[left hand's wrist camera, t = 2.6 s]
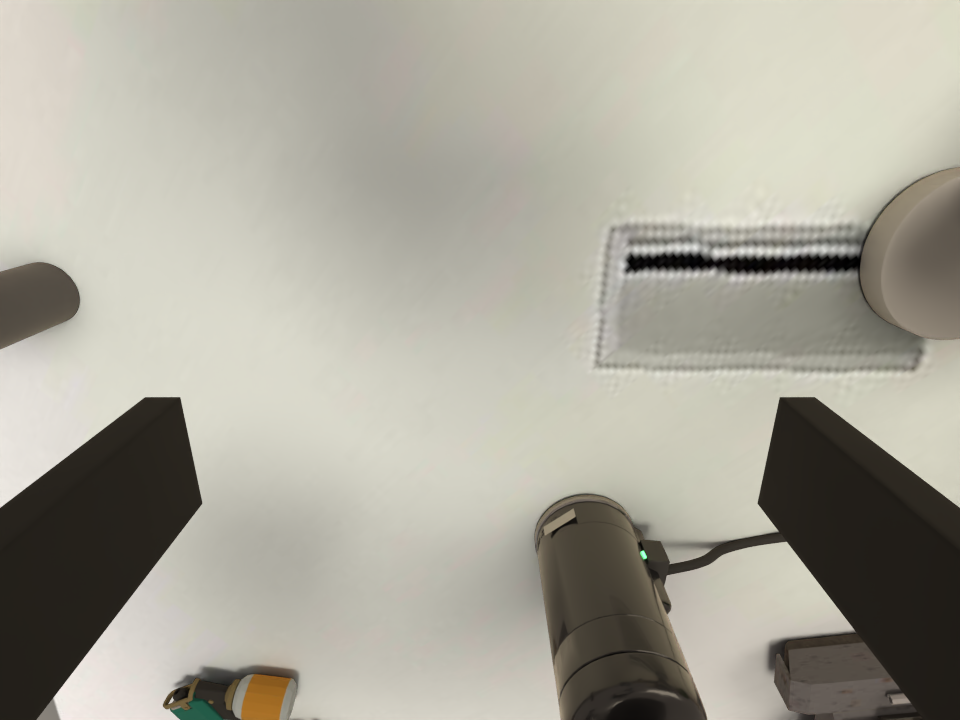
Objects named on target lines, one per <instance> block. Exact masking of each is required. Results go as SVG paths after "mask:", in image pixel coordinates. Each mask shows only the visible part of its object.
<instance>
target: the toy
mask: <svg viewBox="0 0 960 720" xmlns="http://www.w3.org/2000/svg"><path fill="white" fill-rule="evenodd" d="M774 683H775V685H776V687H777V689H778V691H779V693H780V694H781V696H782V698H783V700H784V702H785V704H786V706H787V708H788V710H790V711H795V712H799V713H803V714H808V715H811V714H815V720H924V719H923V718H922V717H921V716H920V714H919V713H918V712H917V710H916V709H915V708H914V706H913V705H912V704H911V703H910V701H909V700H908V699H907V697H906V696H905V695H904V693H903V692H902V691H901V690H900V688H899V687H898V686H897V684H896V683H895V682H894V680H893V679H892V678H891V676H890V675H889V674H888V673H887V671H886V670H885V669H884V667H883V666H882V665H881V663H880V662H879V661H878V660H877V658H876V657H875V656H874V654H873V653H872V652H871V650H870V649H869V648H868V647H867V645H866V644H865V643H864V641H863V640H862V639H861V637H860V636H859V635H858V634H849V635H839V636H830V637H820V638H811V639H802V640H792V641H788V642H787V643H786V645H785V653H784V661H783V659H782V657H781V656H780V654H776V662H775V677H774Z"/></svg>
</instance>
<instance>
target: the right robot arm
mask: <svg viewBox="0 0 960 720" xmlns="http://www.w3.org/2000/svg"><path fill="white" fill-rule="evenodd" d="M779 542H787V541H786V540H785V538H784V537H783V536H782V535H781V533H777V534H769V535H762V536H756V537H750V538H745V539H741V540H736V541H732V542H729V543H725V544H722V545H719V546H717V547H715V548H714V549H712V550H711V551H710V552H708V553H707V554H705V555H704V556H702V557H699V558H696V559H693V560H689V561H685V562H680V563H675V564H670V561H669V559H668V557H667V555H666V552H665V550H664V548H663V546H662V544H661V541H651V540H644V537H643V535H642V532H641V531H640V530H639V529H637V528H635V527H634V526H633V524H632V521H631V519H630V517H629V515H628V514H627V512H626V511H625V510H624V509H623V508H622V507H621V506H620V505H619V504H617V503H616V502H614V501H612V500H610V499H608V498H605V497H601V496H596V495H579V496H573V497H570V498H567V499H564V500H562V501H560V502H558V503H556V504H555V505H553V506H552V507H551V508H549V509H548V510H547V511H546V512H545V513H544V515H543V516H542V517H541V519H540V520H539V522H538V524H537V527H536V531H535V546H536V552H537V555H538V561H539V568H540V576H541V583H542V590H543V597H544V604H545V611H546V618H547V625H548V632H549V639H550V646H551V653H552V660H553V667H554V674H555V681H556V688H557V695H558V702H559V711H560V719H561V720H707V716H706V712H705V709H704V706H703V703H702V701H701V698H700V696H699V693H698V690H697V688H696V685H695V683H694V681H693V678H692V676H691V673H690V671H689V668H688V666H687V663H686V661H685V658H684V656H683V653H682V650H681V648H680V645H679V643H678V641H677V638H676V636H675V633H674V631H673V628H672V626H671V623H670V621H669V618H668V616H667V614H668V613H669V612H670V610H671V603H670V600H669V598H668V595H667V593H666V590H665V588H664V584H665V580H666V576H667V575H670V574H675V573H680V572H685V571H690V570H694V569H698V568H701V567H704V566H706V565H709V564H711V563H712V562H714V561H715V560H716V559H717V558H719V557H720V556H721V555H723V554H726V553H729V552H732V551H735V550H739V549H743V548H747V547H752V546H758V545H764V544H771V543H779Z"/></svg>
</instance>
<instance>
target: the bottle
mask: <svg viewBox="0 0 960 720" xmlns="http://www.w3.org/2000/svg"><path fill="white" fill-rule="evenodd" d="M78 307H79V293H78V290H77V288H76V286H75V284H74V282H73V281H72V279H71V278H70V277H69V276H68V275H67V274H66V273H65V272H64V271H62V270H61V269H59V268H57V267H55V266H53V265H50V264H47V263H39V262H37V263H31V264H27V265H24V266H20V267H16V268H12V269H9V270H5V271H1V272H0V349H2V348H5V347H7V346H9V345H12V344H14V343H16V342H18V341H21V340H23V339H25V338H28V337H30V336H32V335H35V334H37V333H39V332H42V331H44V330H46V329H49V328H51V327H53V326H55V325H58V324H60V323H62V322H65V321H67V320H69V319H70V318H72V317H73V316H74V315H75V313H76V312H77V310H78Z"/></svg>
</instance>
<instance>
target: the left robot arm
mask: <svg viewBox="0 0 960 720" xmlns="http://www.w3.org/2000/svg"><path fill="white" fill-rule="evenodd" d="M201 505H202V499H201V495H200V490H199V485H198V480H197V475H196V471H195V466H194V461H193V456H192V452H191V447H190V442H189V437H188V432H187V428H186V423H185V418H184V413H183V409H182V404H181V399H180V397H145V398H144V399H142V400H141V401H140V402H138V403H137V404H136V405H135V406H133V407H132V408H131V409H129V410H128V411H127V412H125V413H124V414H123V415H121V416H120V417H119V418H117V419H116V420H115V421H114V422H112V423H111V424H110V425H108V426H107V427H106V428H104V429H103V430H102V431H100V432H99V433H98V434H97V435H95V436H94V437H93V438H91V439H90V440H89V441H87V442H86V443H85V444H83V445H82V446H81V447H79V448H78V449H77V450H76V451H74V452H73V453H72V454H70V455H69V456H68V457H66V458H65V459H64V460H62V461H61V462H60V463H59V464H57V465H56V466H55V467H53V468H52V469H51V470H49V471H48V472H47V473H45V474H44V475H43V476H41V477H40V478H39V479H38V480H36V481H35V482H34V483H32V484H31V485H30V486H28V487H27V488H26V489H24V490H23V491H22V492H21V493H19V494H18V495H17V496H15V497H14V498H13V499H11V500H10V501H9V502H7V503H6V504H5V505H3V506H2V507H1V508H0V720H36V719H37V718H38V717H39V715H40V714H41V713H42V712H43V710H44V709H45V708H46V706H47V705H48V704H49V703H50V701H51V700H52V699H53V697H54V696H55V695H56V693H57V692H58V691H59V690H60V688H61V687H62V686H63V684H64V683H65V682H66V680H67V679H68V678H69V676H70V675H71V674H72V673H73V671H74V670H75V669H76V667H77V666H78V665H79V663H80V662H81V661H82V660H83V658H84V657H85V656H86V654H87V653H88V652H89V650H90V649H91V648H92V647H93V645H94V644H95V643H96V641H97V640H98V639H99V637H100V636H101V635H102V634H103V632H104V631H105V630H106V628H107V627H108V626H109V624H110V623H111V622H112V620H113V619H114V618H115V617H116V615H117V614H118V613H119V611H120V610H121V609H122V607H123V606H124V605H125V604H126V602H127V601H128V600H129V598H130V597H131V596H132V594H133V593H134V592H135V591H136V589H137V588H138V587H139V585H140V584H141V583H142V581H143V580H144V579H145V578H146V576H147V575H148V574H149V572H150V571H151V570H152V568H153V567H154V566H155V564H156V563H157V562H158V561H159V559H160V558H161V557H162V555H163V554H164V553H165V551H166V550H167V549H168V548H169V546H170V545H171V544H172V542H173V541H174V540H175V538H176V537H177V536H178V535H179V533H180V532H181V531H182V529H183V528H184V527H185V525H186V524H187V523H188V522H189V520H190V519H191V518H192V516H193V515H194V514H195V512H196V511H197V510H198V508H199V507H200V506H201ZM758 505H759V506H760V507H761V508H762V510H763V511H764V512H765V514H766V515H767V516H768V518H769V519H770V520H771V522H772V523H773V524H774V525H775V527H776V528H777V529H778V531H779V532H780V533H781V535H782V536H783V537H784V538H785V540H786V541H787V542H788V544H789V545H790V546H791V548H792V549H793V550H794V551H795V553H796V554H797V555H798V557H799V558H800V559H801V561H802V562H803V563H804V564H805V566H806V567H807V568H808V570H809V571H810V572H811V574H812V575H813V576H814V578H815V579H816V580H817V581H818V583H819V584H820V585H821V587H822V588H823V589H824V591H825V592H826V593H827V594H828V596H829V597H830V598H831V600H832V601H833V602H834V604H835V605H836V606H837V607H838V609H839V610H840V611H841V613H842V614H843V615H844V617H845V618H846V619H847V620H848V622H849V623H850V624H851V626H852V627H853V628H854V630H855V631H856V632H857V634H858V635H859V636H860V637H861V639H862V640H863V641H864V643H865V644H866V645H867V647H868V648H869V649H870V650H871V652H872V653H873V654H874V656H875V657H876V658H877V660H878V661H879V662H880V663H881V665H882V666H883V667H884V669H885V670H886V671H887V673H888V674H889V675H890V676H891V678H892V679H893V680H894V682H895V683H896V684H897V686H898V687H899V688H900V690H901V691H902V692H903V693H904V695H905V696H906V697H907V699H908V700H909V701H910V703H911V704H912V705H913V706H914V708H915V709H916V710H917V712H918V713H919V714H920V716H921V717H922V718H923V719H924V720H960V508H959V507H958V506H957V505H955V504H954V503H953V502H951V501H950V500H949V499H947V498H946V497H945V496H943V495H942V494H941V493H939V492H938V491H937V490H936V489H934V488H933V487H932V486H930V485H929V484H928V483H926V482H925V481H924V480H922V479H921V478H920V477H919V476H917V475H916V474H915V473H913V472H912V471H911V470H909V469H908V468H907V467H905V466H904V465H903V464H901V463H900V462H899V461H898V460H896V459H895V458H894V457H892V456H891V455H890V454H888V453H887V452H886V451H884V450H883V449H882V448H881V447H879V446H878V445H877V444H875V443H874V442H873V441H871V440H870V439H869V438H867V437H866V436H865V435H863V434H862V433H861V432H860V431H858V430H857V429H856V428H854V427H853V426H852V425H850V424H849V423H848V422H846V421H845V420H844V419H843V418H841V417H840V416H839V415H837V414H836V413H835V412H833V411H832V410H831V409H829V408H828V407H827V406H825V405H824V404H823V403H822V402H820V401H819V400H818V399H816V398H815V397H780V399H779V404H778V409H777V413H776V418H775V423H774V428H773V432H772V437H771V442H770V447H769V452H768V456H767V461H766V466H765V471H764V475H763V480H762V485H761V490H760V495H759V499H758Z"/></svg>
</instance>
